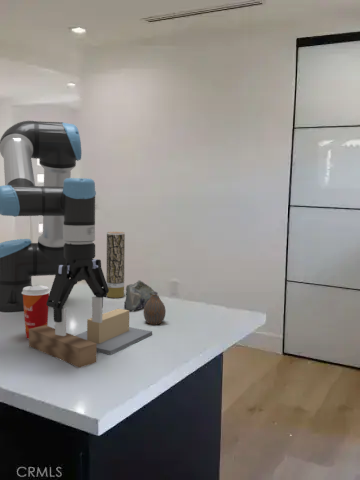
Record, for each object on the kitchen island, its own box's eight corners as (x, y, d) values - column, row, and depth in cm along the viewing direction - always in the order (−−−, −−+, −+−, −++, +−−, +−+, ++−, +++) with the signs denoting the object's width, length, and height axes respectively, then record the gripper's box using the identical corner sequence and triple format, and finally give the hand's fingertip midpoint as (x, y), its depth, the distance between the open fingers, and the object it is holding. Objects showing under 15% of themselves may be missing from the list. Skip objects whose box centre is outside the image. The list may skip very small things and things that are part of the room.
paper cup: (20, 334, 139) (20, 285, 138) (48, 331, 142) (48, 284, 141) (23, 342, 132) (23, 291, 131) (52, 339, 135) (52, 289, 134)
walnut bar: (29, 347, 129) (28, 328, 129) (45, 343, 133) (45, 325, 132) (79, 369, 115) (79, 348, 114) (96, 363, 118) (96, 343, 118)
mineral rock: (156, 303, 179) (156, 276, 178) (163, 310, 169) (163, 282, 168) (121, 305, 176) (121, 277, 175) (126, 312, 166) (126, 283, 164)
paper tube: (120, 299, 185) (121, 233, 182) (103, 297, 186) (104, 232, 184) (126, 295, 192) (126, 232, 189) (109, 294, 193) (110, 231, 190)
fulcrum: (62, 343, 131) (62, 318, 131) (107, 326, 149) (107, 303, 148) (110, 354, 124) (110, 327, 123) (152, 334, 141) (152, 311, 140)
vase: (138, 322, 153) (139, 295, 153) (154, 318, 159) (155, 292, 158) (154, 327, 149) (154, 299, 148) (169, 323, 154) (170, 295, 153)
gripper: (54, 248, 105) (55, 343, 107) (122, 239, 127) (121, 319, 129) (29, 245, 109) (30, 338, 111) (99, 237, 130) (99, 315, 132)
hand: (79, 328), depth 120 cm, fingers open, 13 cm apart
